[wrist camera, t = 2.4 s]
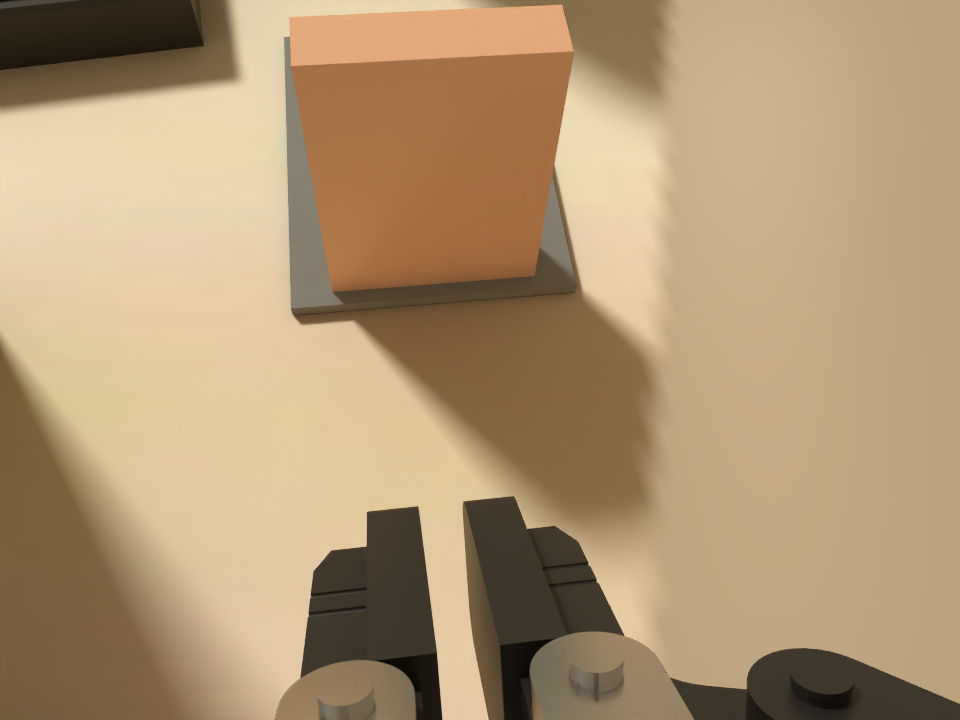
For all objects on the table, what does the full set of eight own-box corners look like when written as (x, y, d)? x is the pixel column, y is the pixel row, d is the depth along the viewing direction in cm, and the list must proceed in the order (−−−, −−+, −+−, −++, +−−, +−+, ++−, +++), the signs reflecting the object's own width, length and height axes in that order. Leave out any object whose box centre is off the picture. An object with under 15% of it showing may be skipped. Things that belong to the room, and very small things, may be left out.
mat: (292, 315, 42) (291, 308, 41) (285, 45, 51) (284, 37, 51) (574, 292, 43) (576, 285, 43) (518, 33, 53) (519, 25, 52)
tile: (332, 292, 42) (291, 66, 30) (330, 248, 43) (289, 14, 31) (534, 276, 43) (573, 51, 31) (526, 233, 44) (560, 1, 32)
